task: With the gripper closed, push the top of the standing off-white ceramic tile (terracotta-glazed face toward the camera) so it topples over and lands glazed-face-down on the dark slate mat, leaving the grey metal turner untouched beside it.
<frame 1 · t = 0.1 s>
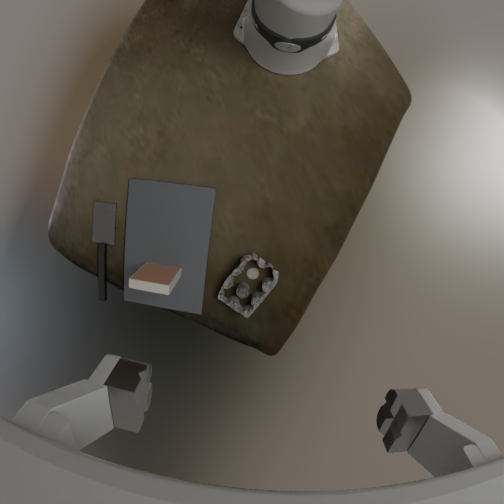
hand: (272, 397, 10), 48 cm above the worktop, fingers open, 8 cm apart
egg carton: (248, 280, 60), on the worktop
turner: (103, 252, 59), on the worktop
mat: (165, 247, 58), on the worktop
tile: (163, 269, 59), point 1 cm above the worktop, touching mat
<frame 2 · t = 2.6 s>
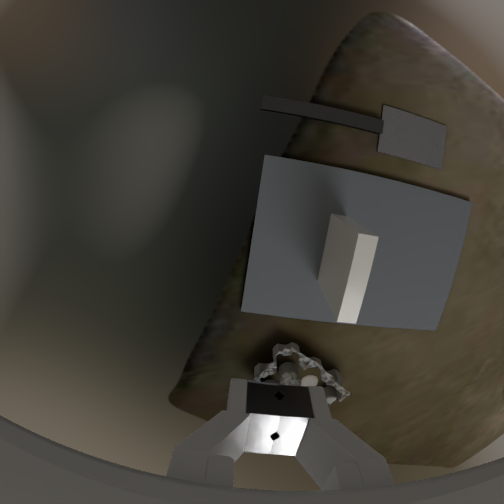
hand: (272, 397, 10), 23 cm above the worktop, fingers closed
egg carton: (297, 374, 37), on the worktop
turner: (361, 123, 29), on the worktop
mat: (366, 253, 32), on the worktop
tile: (331, 249, 32), point 1 cm above the worktop, touching mat
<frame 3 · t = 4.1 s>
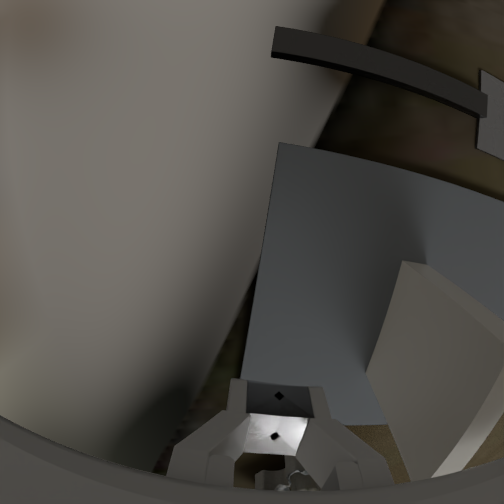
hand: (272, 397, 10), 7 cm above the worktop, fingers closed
egg carton: (316, 478, 22), on the worktop
turner: (451, 95, 13), on the worktop
mat: (445, 322, 17), on the worktop
tile: (396, 322, 16), point 1 cm above the worktop, touching mat
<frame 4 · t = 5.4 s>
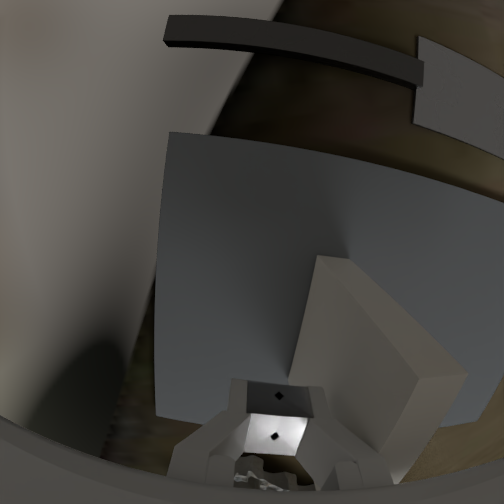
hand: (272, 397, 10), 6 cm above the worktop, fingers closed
egg carton: (259, 485, 21), on the worktop
turner: (378, 66, 13), on the worktop
mat: (384, 325, 16), on the worktop
tile: (317, 324, 15), point 1 cm above the worktop, touching gripper, mat
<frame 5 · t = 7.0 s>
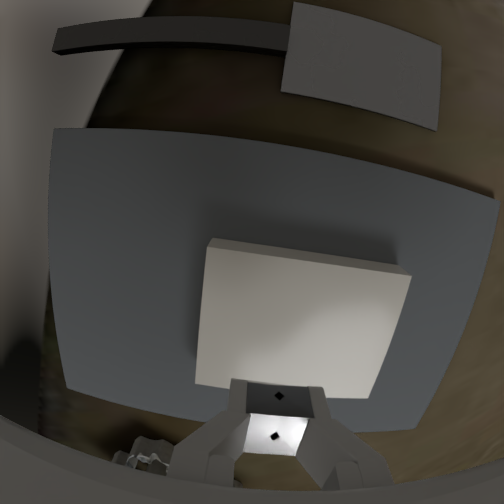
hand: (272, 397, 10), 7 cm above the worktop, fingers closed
egg carton: (179, 473, 21), on the worktop
turner: (244, 39, 13), on the worktop
mat: (267, 310, 16), on the worktop
tile: (202, 315, 15), point 1 cm above the worktop, tilted 90°, touching mat
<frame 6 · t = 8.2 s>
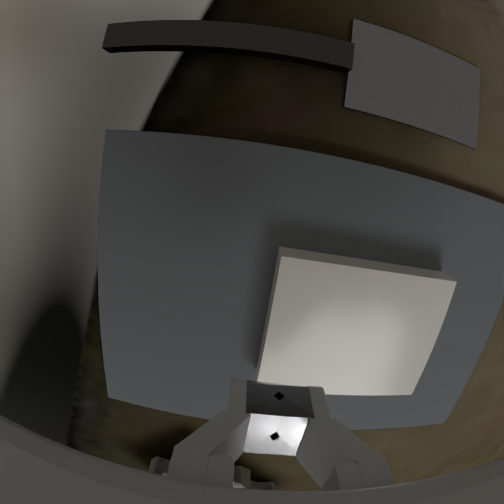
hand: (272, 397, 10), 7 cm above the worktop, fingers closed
egg carton: (215, 477, 21), on the worktop
turner: (308, 52, 13), on the worktop
mat: (323, 315, 16), on the worktop
tile: (267, 321, 15), point 1 cm above the worktop, tilted 90°, touching mat
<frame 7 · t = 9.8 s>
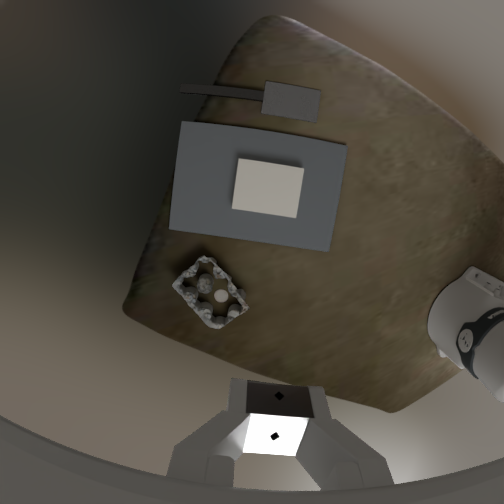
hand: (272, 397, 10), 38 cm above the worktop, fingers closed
egg carton: (213, 287, 51), on the worktop
turner: (249, 95, 42), on the worktop
mat: (257, 185, 46), on the worktop
tile: (235, 183, 44), point 1 cm above the worktop, tilted 90°, touching mat
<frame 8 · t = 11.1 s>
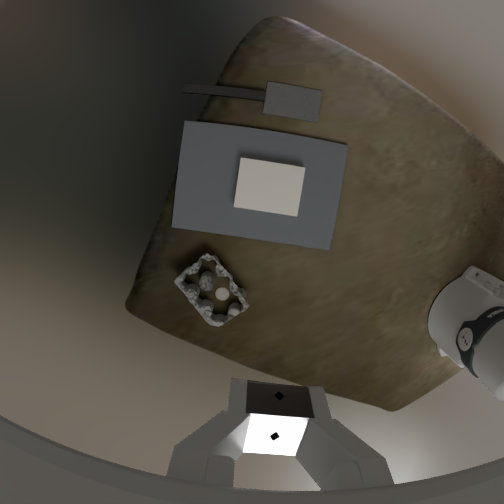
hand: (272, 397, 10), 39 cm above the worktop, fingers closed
egg carton: (214, 285, 51), on the worktop
turner: (251, 95, 43), on the worktop
mat: (258, 184, 46), on the worktop
tile: (237, 182, 45), point 1 cm above the worktop, tilted 90°, touching mat
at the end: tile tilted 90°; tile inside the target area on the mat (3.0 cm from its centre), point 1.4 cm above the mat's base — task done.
